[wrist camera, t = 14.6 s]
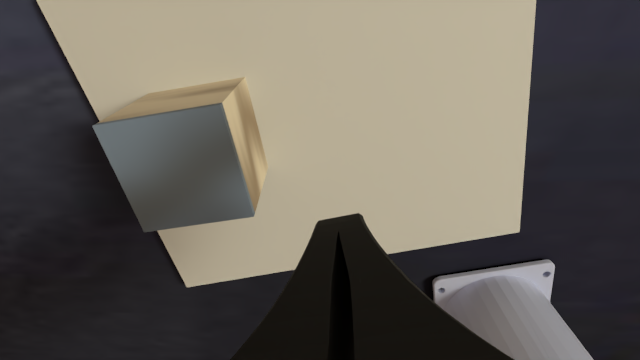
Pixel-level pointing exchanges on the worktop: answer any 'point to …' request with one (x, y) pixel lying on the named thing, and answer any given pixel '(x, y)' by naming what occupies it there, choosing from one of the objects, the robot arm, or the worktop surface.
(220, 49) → the mat
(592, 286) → the worktop surface
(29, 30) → the worktop surface
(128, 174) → the cube
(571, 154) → the worktop surface
